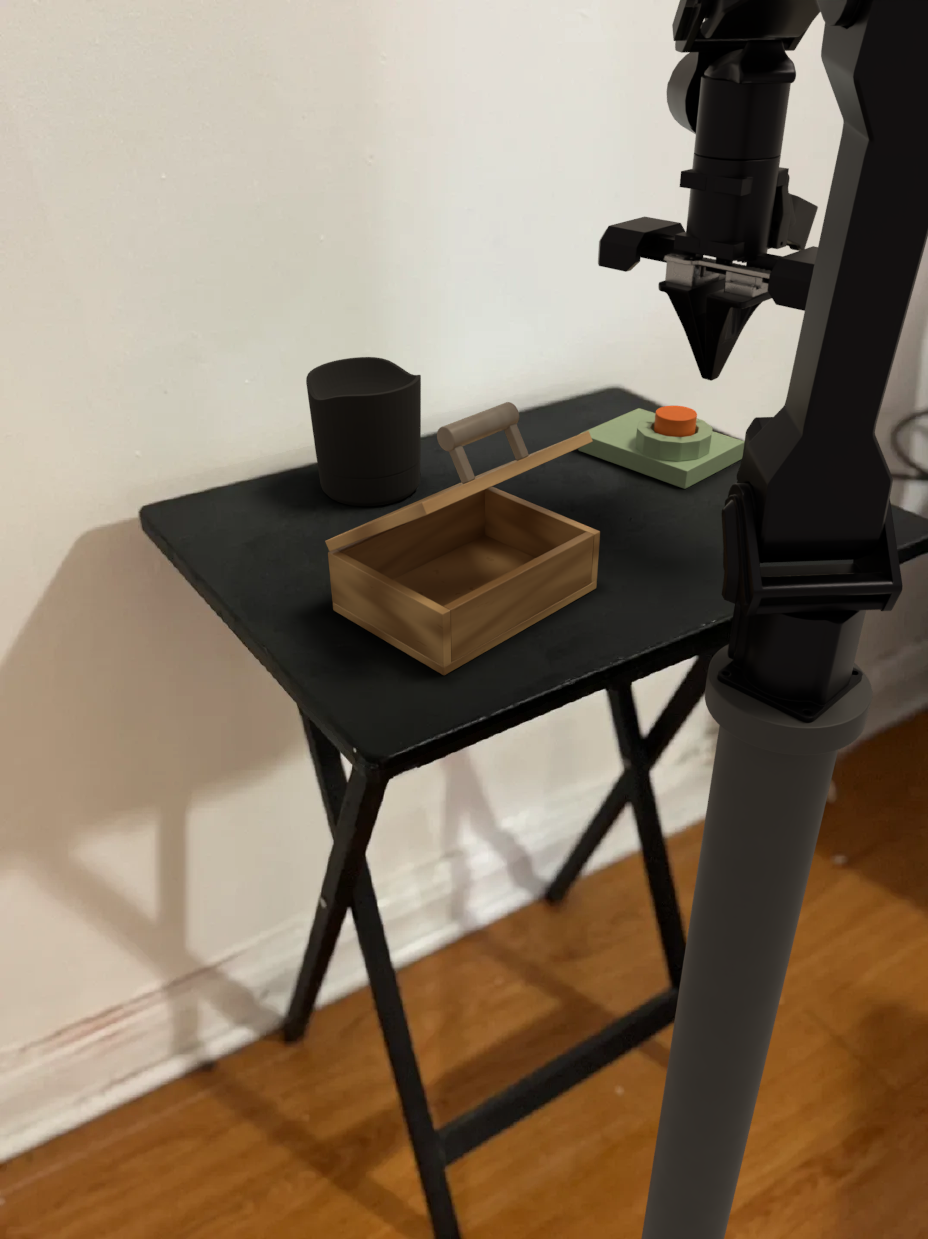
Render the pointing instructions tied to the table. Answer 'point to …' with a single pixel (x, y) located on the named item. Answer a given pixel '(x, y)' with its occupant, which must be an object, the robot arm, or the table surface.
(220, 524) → the table surface
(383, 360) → the pen holder
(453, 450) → the case lid
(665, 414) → the button
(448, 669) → the wooden case
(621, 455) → the control block
